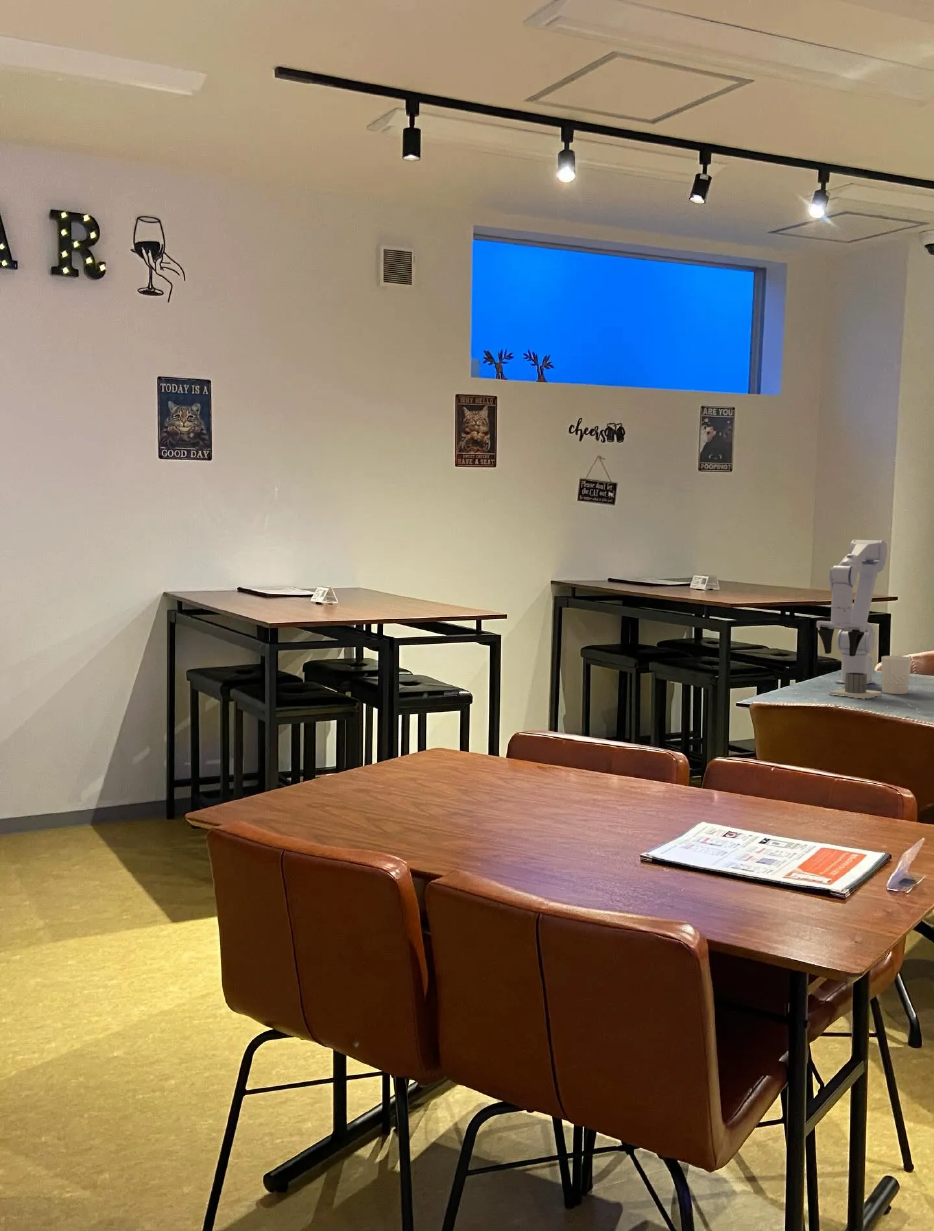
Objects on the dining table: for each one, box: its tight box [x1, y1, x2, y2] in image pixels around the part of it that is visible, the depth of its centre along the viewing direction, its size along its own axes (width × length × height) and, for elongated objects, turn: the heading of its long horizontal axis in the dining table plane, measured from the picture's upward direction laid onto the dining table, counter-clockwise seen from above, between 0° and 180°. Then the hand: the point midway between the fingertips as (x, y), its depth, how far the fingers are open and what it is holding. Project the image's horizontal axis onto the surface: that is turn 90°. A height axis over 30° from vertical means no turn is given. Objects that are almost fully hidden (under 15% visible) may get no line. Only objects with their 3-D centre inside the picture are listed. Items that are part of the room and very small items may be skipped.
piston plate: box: [829, 688, 882, 700], centre depth 332 cm, size 10×10×4 cm
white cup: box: [880, 655, 912, 695], centre depth 337 cm, size 8×8×10 cm
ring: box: [844, 672, 868, 693], centre depth 332 cm, size 6×6×5 cm
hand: (840, 654), depth 343 cm, fingers open, 7 cm apart
